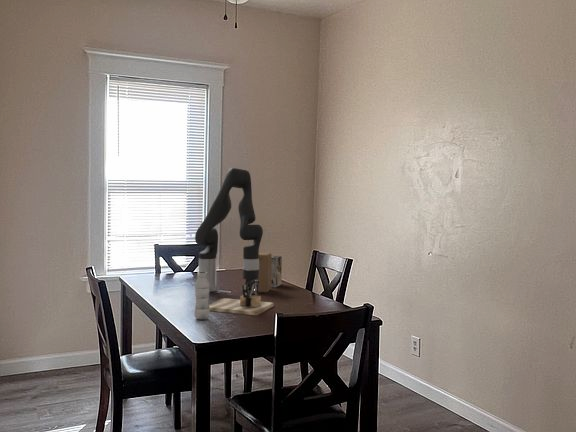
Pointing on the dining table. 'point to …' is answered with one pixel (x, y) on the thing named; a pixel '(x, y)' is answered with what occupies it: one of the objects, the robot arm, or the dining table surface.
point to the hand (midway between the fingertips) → (250, 304)
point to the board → (238, 307)
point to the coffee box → (276, 271)
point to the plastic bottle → (202, 297)
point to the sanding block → (254, 301)
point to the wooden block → (264, 272)
